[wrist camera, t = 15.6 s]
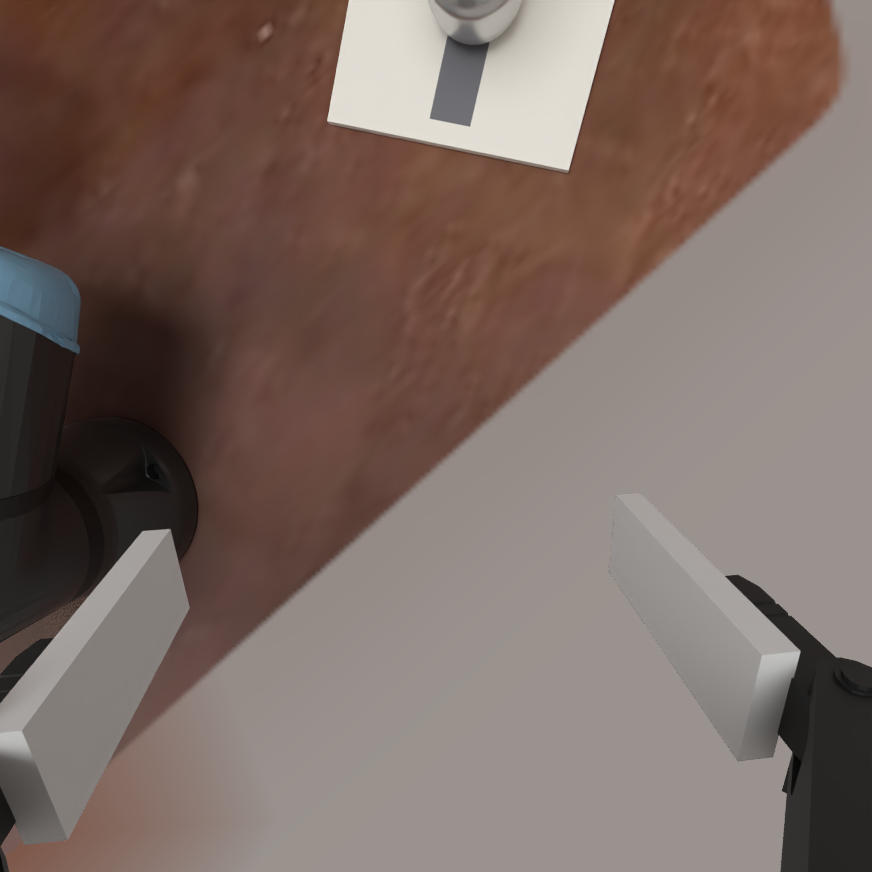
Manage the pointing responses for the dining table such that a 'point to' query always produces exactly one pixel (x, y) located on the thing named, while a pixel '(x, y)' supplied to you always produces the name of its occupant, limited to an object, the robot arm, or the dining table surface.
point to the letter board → (471, 79)
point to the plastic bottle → (474, 18)
